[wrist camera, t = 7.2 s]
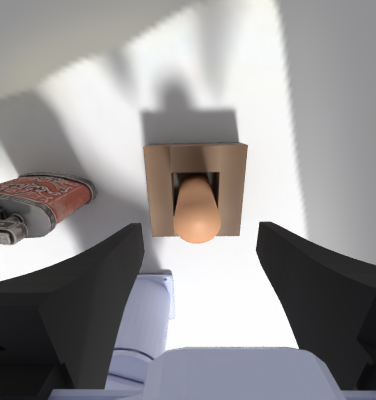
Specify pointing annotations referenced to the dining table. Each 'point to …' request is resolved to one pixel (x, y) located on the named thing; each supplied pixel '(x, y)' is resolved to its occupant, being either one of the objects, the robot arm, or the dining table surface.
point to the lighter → (39, 203)
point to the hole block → (202, 164)
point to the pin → (196, 210)
